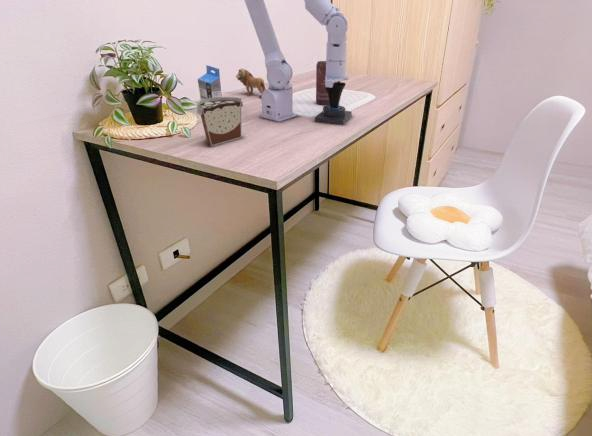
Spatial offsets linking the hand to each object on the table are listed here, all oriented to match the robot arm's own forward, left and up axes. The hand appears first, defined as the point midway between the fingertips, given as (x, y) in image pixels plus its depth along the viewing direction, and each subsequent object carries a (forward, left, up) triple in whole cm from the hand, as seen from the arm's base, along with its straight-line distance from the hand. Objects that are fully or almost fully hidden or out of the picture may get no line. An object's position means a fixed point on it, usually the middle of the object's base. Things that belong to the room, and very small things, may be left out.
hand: (334, 107), depth 115 cm
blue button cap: (0, 0, -2) cm, 2 cm away
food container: (-36, +11, -4) cm, 38 cm away
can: (+14, +14, -4) cm, 20 cm away
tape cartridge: (-16, +39, -4) cm, 42 cm away
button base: (0, 0, -4) cm, 4 cm away
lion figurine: (+5, +41, -4) cm, 42 cm away
